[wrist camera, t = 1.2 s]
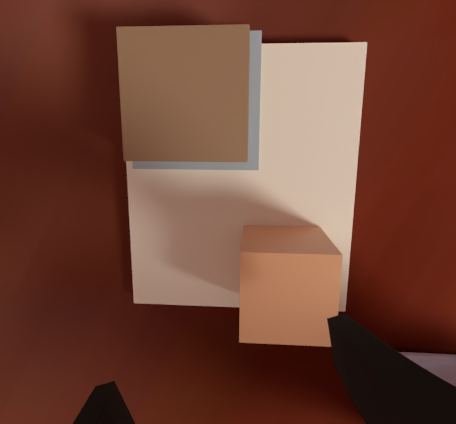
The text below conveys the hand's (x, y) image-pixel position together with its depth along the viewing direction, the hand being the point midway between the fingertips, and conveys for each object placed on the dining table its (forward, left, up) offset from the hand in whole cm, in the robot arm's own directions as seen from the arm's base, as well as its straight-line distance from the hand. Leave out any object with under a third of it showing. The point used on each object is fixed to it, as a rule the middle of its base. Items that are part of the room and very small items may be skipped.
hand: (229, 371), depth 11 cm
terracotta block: (-2, 0, -9) cm, 10 cm away
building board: (0, -5, -10) cm, 12 cm away
